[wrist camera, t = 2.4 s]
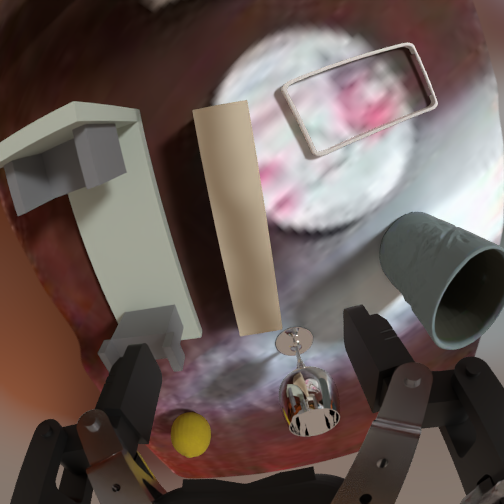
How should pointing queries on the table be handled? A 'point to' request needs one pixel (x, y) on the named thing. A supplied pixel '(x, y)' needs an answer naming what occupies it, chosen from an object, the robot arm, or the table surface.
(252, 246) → the rail
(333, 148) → the phone case
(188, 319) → the bracket stand
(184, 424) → the lemon
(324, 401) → the wineglass
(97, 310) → the table surface
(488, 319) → the grey plant pot
